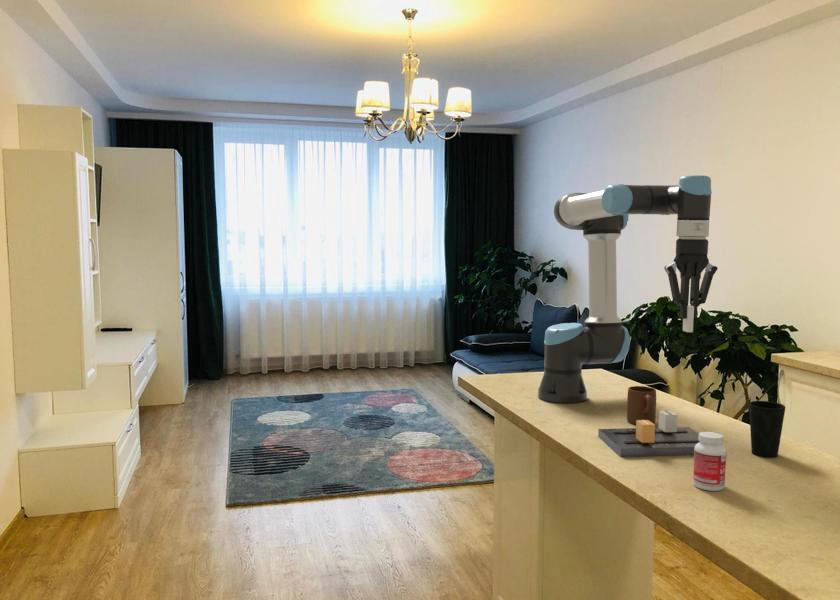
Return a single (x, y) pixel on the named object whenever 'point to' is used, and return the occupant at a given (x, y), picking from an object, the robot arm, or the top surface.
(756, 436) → the cup
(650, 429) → the fader
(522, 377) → the top surface
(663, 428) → the fader
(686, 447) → the console
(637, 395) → the mug
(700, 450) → the pill bottle
